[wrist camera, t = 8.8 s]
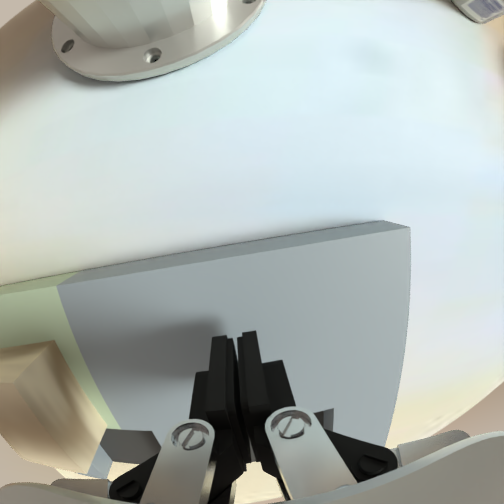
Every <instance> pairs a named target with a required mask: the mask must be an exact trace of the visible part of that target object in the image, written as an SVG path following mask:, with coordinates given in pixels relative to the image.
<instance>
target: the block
mask: <svg viewBox="0 0 504 504" xmlns="http://www.w3.org/2000/svg"><path fill="white" fill-rule="evenodd" d="M107 426H108V425H107V424H106V422H105V421H104V420H103V418H102V417H101V416H100V414H99V413H98V411H97V410H96V409H95V407H94V406H93V404H92V403H91V401H90V400H89V398H88V397H87V395H86V394H85V392H84V391H83V389H82V388H81V386H80V384H79V383H78V381H77V380H76V378H75V376H74V375H73V373H72V371H71V370H70V368H69V366H68V364H67V363H66V361H65V359H64V357H63V355H62V353H61V352H60V350H59V348H58V346H57V344H56V342H55V340H51V341H45V342H39V343H33V344H27V345H20V346H14V347H7V348H0V434H1V435H2V436H3V438H4V439H5V440H6V441H7V442H8V444H9V445H10V446H11V447H12V448H13V449H14V450H15V451H16V453H17V454H18V455H19V456H20V457H21V458H22V459H24V460H28V461H31V462H35V463H38V464H42V465H46V466H49V467H53V468H58V469H62V470H67V471H72V472H77V473H83V474H87V473H88V470H89V468H90V465H91V463H92V461H93V458H94V456H95V453H96V451H97V449H98V446H99V444H100V442H101V439H102V437H103V435H104V432H105V430H106V428H107Z"/></svg>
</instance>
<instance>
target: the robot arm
mask: <svg viewBox="0 0 504 504" xmlns="http://www.w3.org/2000/svg"><path fill="white" fill-rule="evenodd" d="M38 1H39V2H41V3H42V4H43V5H44V6H45V7H46V8H47V9H49V10H50V11H51V12H52V13H53V14H54V15H55V17H54V20H53V23H52V32H51V39H52V44H53V49H54V51H55V53H56V54H57V56H58V58H59V59H60V60H61V61H62V62H63V63H64V64H66V65H67V66H68V67H69V68H71V69H72V70H74V71H76V72H77V73H79V74H81V75H82V76H85V77H89V78H92V79H96V80H100V81H116V82H120V81H130V80H141V79H145V78H149V77H153V76H158V75H163V74H166V73H169V72H171V71H174V70H177V69H180V68H183V67H186V66H189V65H191V64H193V63H195V62H197V61H199V60H201V59H203V58H206V57H208V56H210V55H212V54H213V53H215V52H216V51H218V50H220V49H221V48H223V47H225V46H226V45H228V44H229V43H231V42H232V41H233V40H235V39H236V38H237V37H238V36H239V35H241V34H242V33H243V32H244V31H245V30H247V29H248V28H249V26H250V25H251V24H252V23H253V22H254V20H255V19H256V18H257V17H258V16H259V14H260V12H261V10H262V8H263V6H264V4H265V3H266V0H38ZM156 59H158V60H157V61H155V62H153V61H154V60H156ZM237 349H238V359H237V354H236V350H235V345H234V341H233V338H227V335H222V336H215V337H212V341H211V351H210V361H209V371H200V372H196V374H195V380H194V386H193V393H192V400H191V406H190V413H189V419H188V420H184V421H181V422H179V423H177V424H175V425H174V426H173V427H172V428H171V429H170V430H169V431H168V433H167V435H166V438H165V440H164V443H163V445H162V448H161V450H160V452H159V453H157V454H156V455H154V456H153V457H151V458H149V459H148V460H146V461H145V462H143V463H141V464H140V465H138V466H136V467H135V468H133V469H131V470H130V471H128V472H126V473H124V474H123V475H121V476H119V477H118V478H117V479H115V480H114V481H111V482H110V481H109V480H108V479H58V480H56V481H54V482H53V483H52V484H51V485H47V484H40V483H30V482H29V483H28V482H27V483H26V482H25V483H11V484H7V485H5V486H3V487H1V488H0V504H234V498H235V491H236V479H237V478H239V477H240V476H241V475H242V474H243V472H244V471H247V469H246V463H251V462H252V460H251V449H250V442H251V446H252V449H253V452H254V456H255V459H256V462H261V465H262V469H263V471H264V472H266V473H268V474H270V475H272V476H274V477H276V481H277V484H278V486H279V489H280V491H281V494H282V496H283V499H284V501H283V502H277V503H271V504H504V431H496V432H490V433H485V434H480V435H477V436H473V437H470V436H469V435H468V434H467V433H466V432H464V431H460V430H453V431H448V432H445V433H442V434H439V435H436V436H432V437H428V438H425V439H421V440H417V441H413V442H409V443H404V444H400V445H398V446H397V448H394V449H388V448H385V447H383V446H379V445H376V444H372V443H368V442H365V441H361V440H358V439H355V438H351V437H348V436H345V435H342V434H339V433H336V432H333V431H330V430H327V429H324V428H322V426H321V424H320V423H319V421H318V420H317V418H316V416H315V415H314V414H313V413H312V412H311V411H309V410H308V409H306V408H302V407H296V404H295V400H294V397H293V394H292V390H291V387H290V383H289V380H288V377H287V373H286V370H285V366H284V363H283V360H277V361H271V362H265V363H262V361H261V355H260V349H259V344H258V338H257V332H256V330H255V331H249V332H242V336H241V337H237Z"/></svg>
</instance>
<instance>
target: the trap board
mask: <svg viewBox="0 0 504 504" xmlns="http://www.w3.org/2000/svg"><path fill="white" fill-rule="evenodd" d="M410 280H411V236H410V227H407V226H403V225H400V224H396V223H392V222H388V221H384V220H383V221H376V222H370V223H363V224H357V225H350V226H344V227H337V228H331V229H324V230H318V231H312V232H305V233H299V234H293V235H287V236H280V237H274V238H268V239H262V240H256V241H250V242H244V243H238V244H232V245H226V246H220V247H214V248H208V249H202V250H196V251H190V252H184V253H178V254H173V255H167V256H161V257H155V258H150V259H144V260H138V261H133V262H127V263H121V264H116V265H110V266H105V267H99V268H94V269H88V270H83V271H77V272H72V273H66V274H61V275H56V276H50V277H45V278H40V279H35V280H29V281H24V282H19V283H14V284H9V285H3V286H0V348H7V347H14V346H20V345H27V344H33V343H39V342H45V341H51V340H55V342H56V344H57V346H58V348H59V350H60V352H61V353H62V355H63V357H64V359H65V361H66V363H67V364H68V366H69V368H70V370H71V371H72V373H73V375H74V376H75V378H76V380H77V381H78V383H79V384H80V386H81V388H82V389H83V391H84V392H85V394H86V395H87V397H88V398H89V400H90V401H91V403H92V404H93V406H94V407H95V409H96V410H97V411H98V413H99V414H100V416H101V417H102V418H103V420H104V421H105V422H106V424H107V425H108V426H107V428H106V430H105V432H104V435H103V437H102V439H101V442H100V444H99V446H98V449H97V451H96V453H95V456H94V458H93V461H92V463H91V465H90V468H89V470H88V473H87V474H83V473H78V474H82V475H86V476H90V477H95V478H100V479H107V476H108V473H109V470H110V467H111V465H112V462H113V461H115V462H123V463H132V464H141V463H143V462H145V461H146V460H148V459H149V458H151V457H153V456H154V455H156V454H157V453H159V452H160V450H161V448H162V445H163V443H164V440H165V438H166V435H167V433H168V431H169V430H170V429H171V428H172V427H173V426H174V425H175V424H177V423H179V422H181V421H184V420H188V419H189V413H190V406H191V400H192V393H193V386H194V380H195V374H196V372H200V371H209V361H210V351H211V341H212V337H215V336H222V335H227V338H233V341H234V345H235V350H236V354H237V359H238V349H237V337H241V336H242V332H249V331H255V330H256V332H257V338H258V344H259V349H260V355H261V361H262V363H265V362H271V361H277V360H283V363H284V366H285V370H286V373H287V377H288V380H289V383H290V387H291V390H292V394H293V397H294V400H295V404H296V407H302V408H306V409H308V410H309V411H311V412H312V413H313V414H314V415H315V416H316V418H317V420H318V421H319V423H320V424H321V426H322V428H324V429H327V430H330V431H333V432H336V433H339V434H342V435H345V436H348V437H351V438H355V439H358V440H361V441H365V442H368V443H372V444H376V445H379V446H383V447H385V443H386V440H387V436H388V432H389V429H390V425H391V421H392V417H393V413H394V408H395V404H396V399H397V394H398V389H399V384H400V378H401V372H402V366H403V360H404V353H405V345H406V336H407V327H408V316H409V302H410ZM250 449H251V460H252V462H254V461H256V459H255V456H254V452H253V449H252V446H251V442H250Z"/></svg>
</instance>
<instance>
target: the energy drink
mask: <svg viewBox="0 0 504 504" xmlns="http://www.w3.org/2000/svg"><path fill="white" fill-rule="evenodd" d="M451 1H452V2H453V3H454V4H455V5H456V7H457V8H458V9H459V10H460V11H461V12H463V13H464V14H465V15H466V16H467V17H469V18H470V19H471V20H473V21H475V22H478V23H481V24H485V23H487V22H489V21H491V20H493V19H495V18H498V17H500V16H502V15H504V0H451Z"/></svg>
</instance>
